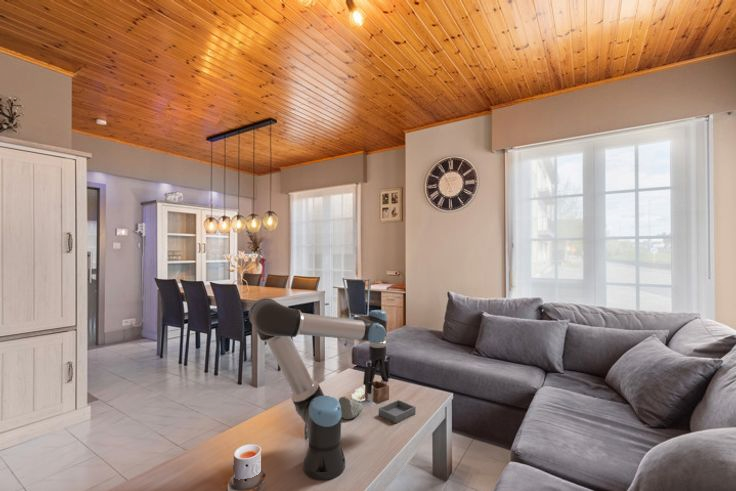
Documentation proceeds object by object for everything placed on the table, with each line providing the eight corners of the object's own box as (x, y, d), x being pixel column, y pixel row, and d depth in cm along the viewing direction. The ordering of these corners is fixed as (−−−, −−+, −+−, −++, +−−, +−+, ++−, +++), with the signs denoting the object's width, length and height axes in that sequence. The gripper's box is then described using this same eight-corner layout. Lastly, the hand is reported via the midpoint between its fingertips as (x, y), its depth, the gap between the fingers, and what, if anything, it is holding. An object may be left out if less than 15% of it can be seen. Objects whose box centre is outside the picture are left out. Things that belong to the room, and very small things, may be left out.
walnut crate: (377, 404, 146) (377, 389, 146) (364, 398, 151) (365, 384, 152) (388, 399, 150) (389, 385, 151) (376, 393, 156) (376, 380, 156)
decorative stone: (340, 423, 157) (354, 405, 157) (329, 407, 165) (342, 389, 166) (357, 428, 165) (369, 411, 166) (345, 412, 173) (358, 396, 174)
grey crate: (395, 424, 157) (395, 416, 157) (378, 415, 165) (378, 408, 165) (415, 414, 167) (415, 406, 167) (398, 406, 175) (398, 399, 175)
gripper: (367, 351, 142) (366, 407, 141) (399, 343, 156) (398, 394, 155) (355, 347, 147) (354, 401, 147) (387, 340, 161) (386, 389, 160)
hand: (376, 398), depth 151 cm, fingers closed on walnut crate, 7 cm apart
